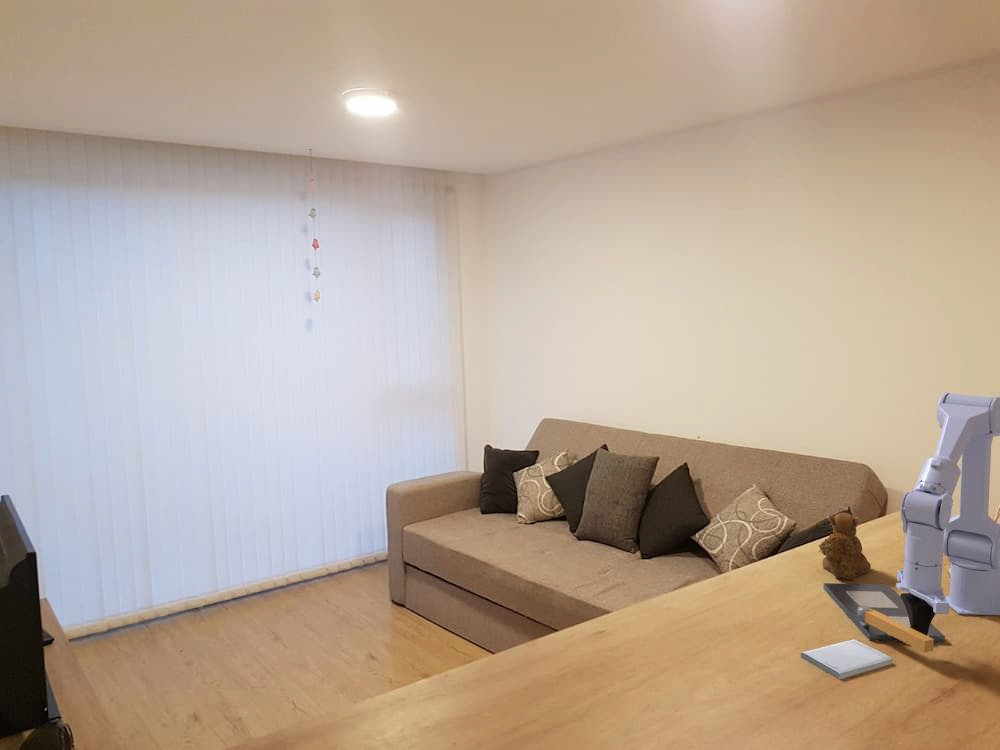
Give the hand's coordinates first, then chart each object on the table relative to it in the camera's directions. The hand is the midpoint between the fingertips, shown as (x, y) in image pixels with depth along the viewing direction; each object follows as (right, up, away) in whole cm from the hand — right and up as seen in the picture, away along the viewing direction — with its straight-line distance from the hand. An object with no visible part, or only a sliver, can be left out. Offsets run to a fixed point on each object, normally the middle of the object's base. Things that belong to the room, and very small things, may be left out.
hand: (919, 636), depth 131 cm
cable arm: (-3, 0, +2) cm, 4 cm away
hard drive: (-14, -4, -2) cm, 14 cm away
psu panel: (+1, -1, +16) cm, 16 cm away
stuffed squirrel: (+4, +1, +37) cm, 38 cm away
